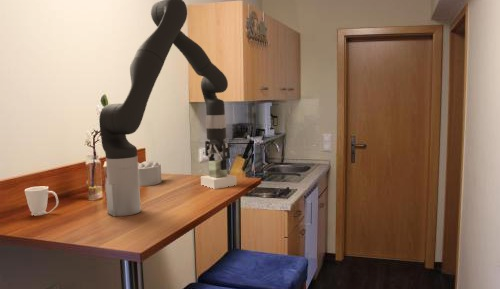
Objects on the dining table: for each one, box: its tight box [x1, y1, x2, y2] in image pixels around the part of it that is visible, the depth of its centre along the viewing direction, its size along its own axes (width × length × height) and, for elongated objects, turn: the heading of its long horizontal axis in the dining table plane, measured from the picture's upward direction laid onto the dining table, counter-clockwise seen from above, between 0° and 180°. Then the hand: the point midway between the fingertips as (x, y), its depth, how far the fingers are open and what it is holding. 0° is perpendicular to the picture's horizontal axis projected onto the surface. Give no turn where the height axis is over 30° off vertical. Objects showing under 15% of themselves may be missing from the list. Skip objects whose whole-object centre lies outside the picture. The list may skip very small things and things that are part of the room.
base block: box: [200, 173, 237, 190], centre depth 175 cm, size 10×10×4 cm
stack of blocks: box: [102, 160, 108, 202], centre depth 165 cm, size 21×6×12 cm, turn 16°
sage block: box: [208, 159, 228, 178], centre depth 174 cm, size 5×5×6 cm
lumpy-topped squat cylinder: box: [138, 160, 163, 187], centre depth 185 cm, size 10×13×9 cm
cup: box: [24, 185, 59, 217], centre depth 139 cm, size 7×10×8 cm
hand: (217, 168), depth 174 cm, fingers open, 8 cm apart
